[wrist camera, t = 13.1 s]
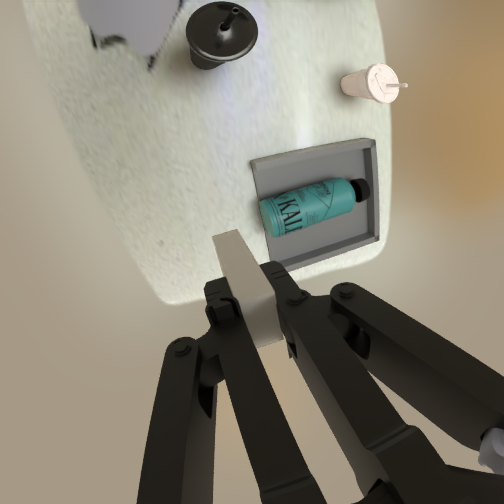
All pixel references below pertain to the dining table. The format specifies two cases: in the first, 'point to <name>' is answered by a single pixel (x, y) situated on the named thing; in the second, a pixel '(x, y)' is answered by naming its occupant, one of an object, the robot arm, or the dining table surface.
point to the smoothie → (373, 83)
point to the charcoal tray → (315, 171)
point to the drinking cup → (220, 34)
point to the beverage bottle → (311, 204)
